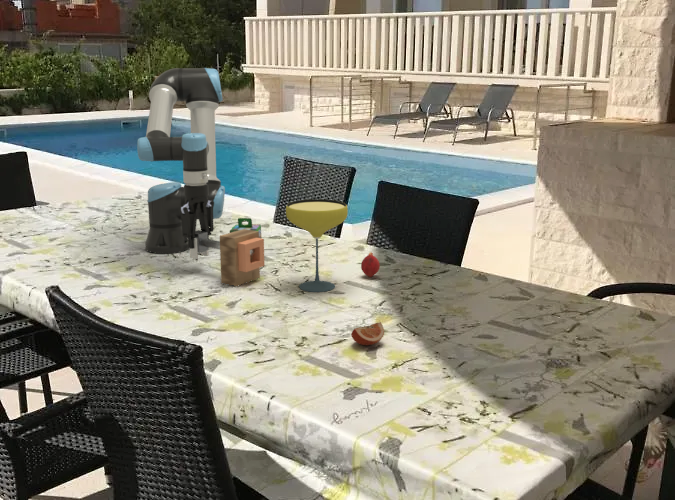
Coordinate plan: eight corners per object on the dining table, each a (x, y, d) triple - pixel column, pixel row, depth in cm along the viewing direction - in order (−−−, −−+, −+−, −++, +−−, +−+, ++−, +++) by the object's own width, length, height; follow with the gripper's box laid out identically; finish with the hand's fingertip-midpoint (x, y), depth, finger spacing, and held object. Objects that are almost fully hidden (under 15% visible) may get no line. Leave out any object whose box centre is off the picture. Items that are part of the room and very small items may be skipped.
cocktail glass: (340, 297, 217) (341, 212, 211) (279, 293, 221) (278, 209, 214) (352, 280, 234) (352, 200, 228) (295, 276, 238) (294, 198, 232)
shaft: (190, 251, 241) (189, 232, 239) (199, 248, 244) (198, 230, 242) (247, 262, 227) (247, 243, 226) (256, 259, 231) (255, 240, 229)
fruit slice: (372, 336, 188) (372, 317, 186) (390, 344, 183) (390, 325, 181) (345, 344, 183) (346, 324, 182) (363, 352, 178) (363, 332, 176)
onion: (377, 280, 234) (378, 255, 232) (359, 279, 235) (359, 254, 233) (380, 275, 240) (381, 250, 238) (362, 274, 241) (363, 249, 239)
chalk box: (262, 257, 261) (261, 214, 257) (257, 264, 252) (256, 220, 248) (236, 256, 262) (234, 214, 258) (230, 263, 253) (228, 220, 249)
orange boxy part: (238, 270, 227) (237, 243, 225) (256, 264, 234) (256, 237, 232) (246, 272, 226) (245, 244, 223) (264, 265, 232) (263, 238, 230)
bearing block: (221, 283, 231) (219, 235, 227) (245, 274, 239) (243, 229, 236) (236, 286, 227) (234, 238, 224) (259, 278, 236) (258, 231, 232)
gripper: (184, 188, 227) (188, 264, 233) (223, 181, 241) (226, 252, 246) (167, 186, 231) (171, 260, 237) (206, 179, 245) (209, 249, 250)
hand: (199, 256), depth 242 cm, fingers closed on shaft, 4 cm apart
